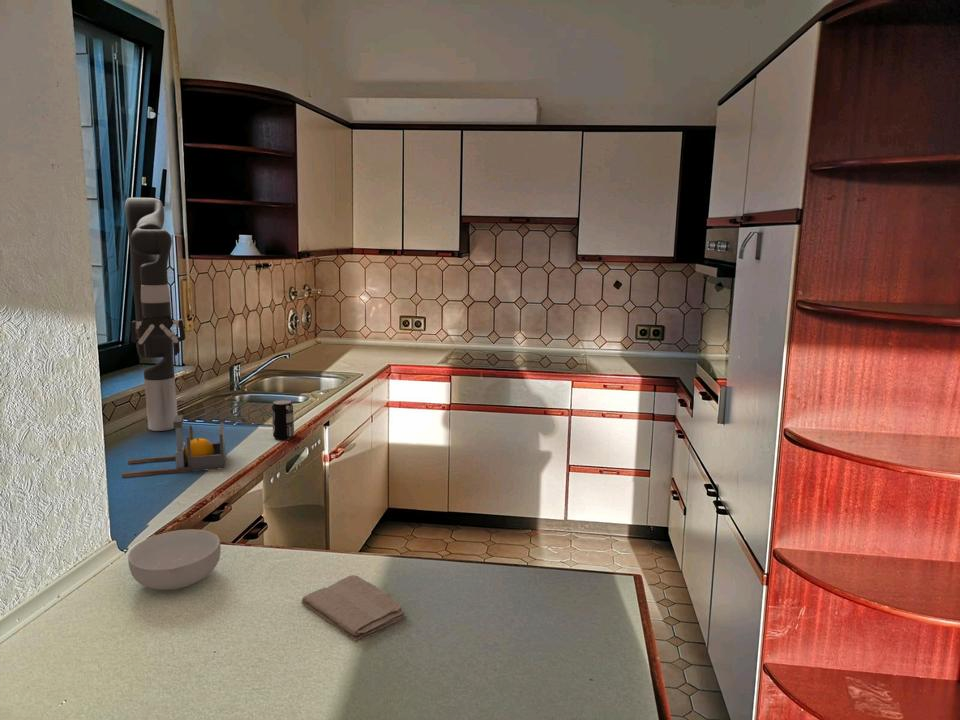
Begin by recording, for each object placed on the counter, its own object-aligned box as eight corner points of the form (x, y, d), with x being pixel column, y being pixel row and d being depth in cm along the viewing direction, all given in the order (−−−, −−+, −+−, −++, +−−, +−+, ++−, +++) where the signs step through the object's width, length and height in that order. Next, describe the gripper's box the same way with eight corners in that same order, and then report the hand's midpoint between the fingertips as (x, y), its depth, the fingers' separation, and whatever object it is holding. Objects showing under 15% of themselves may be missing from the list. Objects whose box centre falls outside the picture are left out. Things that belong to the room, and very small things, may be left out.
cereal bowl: (150, 560, 149) (148, 529, 148) (232, 559, 150) (230, 527, 149) (115, 604, 133) (112, 568, 131) (207, 602, 134) (205, 567, 132)
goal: (191, 457, 212) (189, 425, 210) (225, 454, 215) (223, 422, 213) (188, 471, 200) (186, 437, 199) (224, 468, 203) (222, 434, 201)
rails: (128, 463, 206) (128, 459, 206) (191, 457, 212) (191, 454, 211) (121, 477, 195) (121, 474, 195) (188, 471, 200) (188, 468, 200)
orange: (205, 469, 203) (204, 443, 201) (179, 467, 204) (177, 442, 202) (219, 459, 210) (218, 435, 209) (194, 458, 212) (192, 433, 210)
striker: (179, 459, 209) (175, 414, 207) (186, 458, 210) (183, 413, 207) (176, 469, 201) (172, 423, 198) (184, 469, 201) (180, 422, 199)
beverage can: (271, 435, 233) (269, 400, 231) (291, 433, 236) (290, 398, 234) (275, 441, 228) (273, 405, 225) (296, 438, 231) (294, 402, 228)
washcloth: (357, 647, 121) (356, 630, 121) (298, 607, 133) (298, 591, 133) (410, 619, 130) (410, 604, 129) (350, 584, 142) (350, 570, 141)
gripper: (183, 298, 211) (187, 352, 214) (130, 299, 206) (135, 354, 210) (181, 301, 204) (185, 357, 207) (126, 302, 199) (131, 359, 203)
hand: (160, 355), depth 208 cm, fingers open, 8 cm apart
